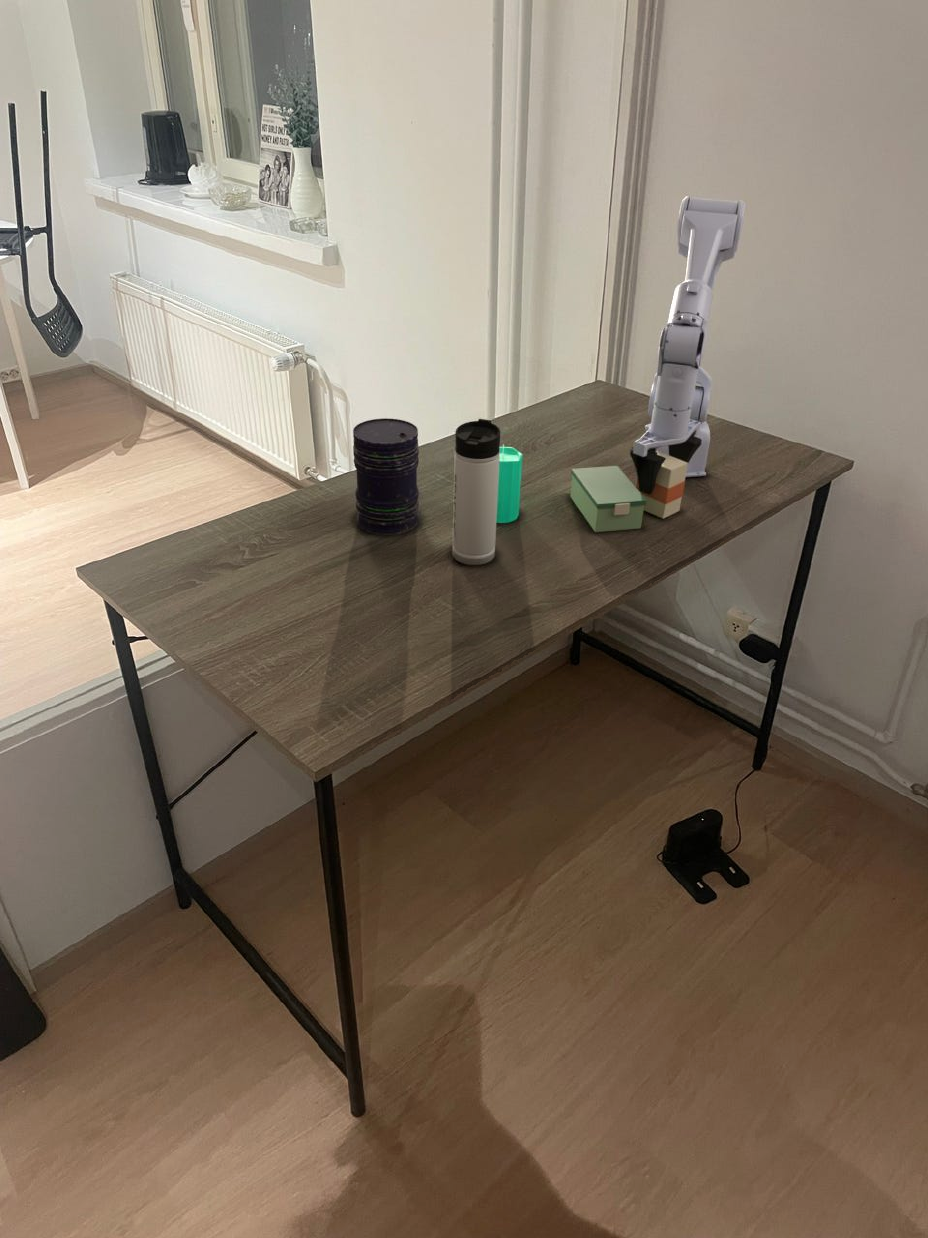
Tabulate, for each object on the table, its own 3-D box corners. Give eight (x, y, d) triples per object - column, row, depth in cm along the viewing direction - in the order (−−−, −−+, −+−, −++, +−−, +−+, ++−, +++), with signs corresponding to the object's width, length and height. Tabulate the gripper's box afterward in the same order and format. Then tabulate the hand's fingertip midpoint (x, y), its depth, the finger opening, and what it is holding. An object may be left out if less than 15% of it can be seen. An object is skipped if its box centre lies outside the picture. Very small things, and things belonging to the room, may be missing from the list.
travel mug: (500, 548, 137) (507, 421, 125) (487, 569, 131) (493, 439, 120) (461, 540, 138) (464, 415, 127) (446, 561, 133) (448, 432, 122)
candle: (492, 526, 142) (496, 454, 136) (474, 510, 147) (477, 440, 140) (525, 518, 145) (530, 448, 138) (506, 503, 149) (510, 434, 142)
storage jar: (344, 526, 141) (339, 435, 133) (376, 501, 149) (373, 413, 140) (400, 540, 138) (399, 448, 129) (430, 514, 145) (430, 425, 137)
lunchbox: (613, 492, 154) (616, 464, 151) (643, 529, 143) (647, 501, 140) (568, 495, 152) (570, 468, 149) (594, 533, 141) (598, 504, 138)
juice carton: (650, 498, 152) (657, 450, 147) (680, 510, 148) (688, 462, 144) (633, 505, 150) (640, 457, 145) (663, 519, 146) (671, 470, 141)
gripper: (680, 387, 146) (667, 465, 153) (622, 407, 138) (612, 489, 145) (717, 399, 142) (702, 479, 149) (659, 421, 133) (647, 504, 141)
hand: (660, 485), depth 147 cm, fingers open, 7 cm apart
